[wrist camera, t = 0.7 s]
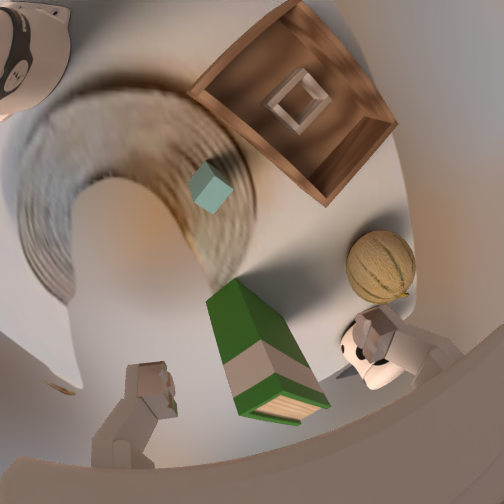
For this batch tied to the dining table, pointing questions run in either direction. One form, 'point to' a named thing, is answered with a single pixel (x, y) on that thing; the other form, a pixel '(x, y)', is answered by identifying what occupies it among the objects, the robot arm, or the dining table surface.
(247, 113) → the walled box
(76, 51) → the dining table surface
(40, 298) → the dining table surface
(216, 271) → the dining table surface
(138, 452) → the robot arm
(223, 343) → the hardback book
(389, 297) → the cantaloupe
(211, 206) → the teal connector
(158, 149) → the dining table surface
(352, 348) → the milk container
